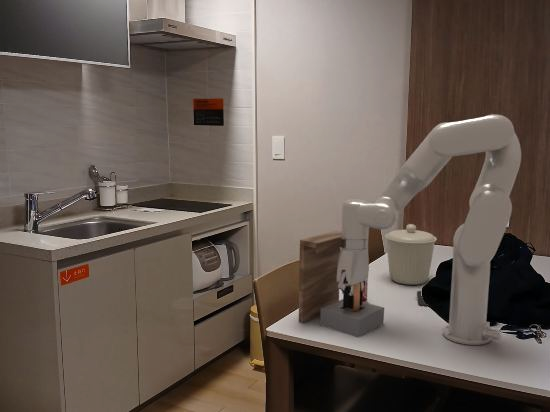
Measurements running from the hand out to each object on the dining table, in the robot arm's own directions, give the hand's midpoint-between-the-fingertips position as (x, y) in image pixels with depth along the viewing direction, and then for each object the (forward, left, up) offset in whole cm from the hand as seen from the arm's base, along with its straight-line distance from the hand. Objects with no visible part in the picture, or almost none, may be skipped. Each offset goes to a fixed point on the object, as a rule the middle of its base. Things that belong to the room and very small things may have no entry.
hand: (352, 305), depth 160 cm
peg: (0, 0, -2) cm, 2 cm away
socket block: (0, 0, -6) cm, 6 cm away
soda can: (+10, -17, -6) cm, 21 cm away
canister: (+9, -50, -6) cm, 51 cm away
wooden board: (+9, 0, -6) cm, 11 cm away
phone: (-6, -36, -6) cm, 37 cm away
